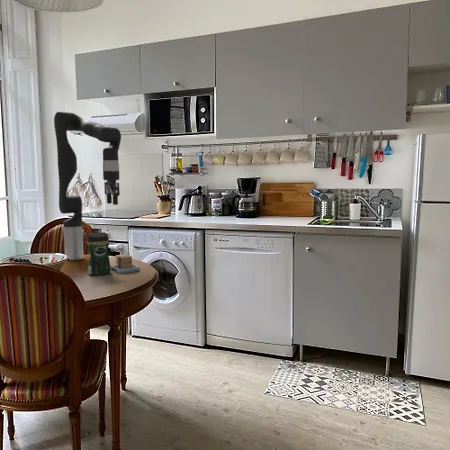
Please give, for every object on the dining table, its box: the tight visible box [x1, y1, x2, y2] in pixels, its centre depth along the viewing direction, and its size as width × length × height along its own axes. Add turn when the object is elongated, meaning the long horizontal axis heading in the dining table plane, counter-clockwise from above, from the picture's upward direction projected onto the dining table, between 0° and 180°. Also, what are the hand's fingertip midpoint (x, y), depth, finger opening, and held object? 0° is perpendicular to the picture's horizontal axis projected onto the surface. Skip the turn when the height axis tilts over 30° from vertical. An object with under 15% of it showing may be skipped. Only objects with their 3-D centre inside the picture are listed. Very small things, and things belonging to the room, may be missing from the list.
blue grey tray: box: [110, 263, 141, 275], centre depth 199 cm, size 10×10×2 cm
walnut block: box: [117, 254, 133, 269], centre depth 198 cm, size 5×5×6 cm
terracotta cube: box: [115, 254, 124, 265], centre depth 214 cm, size 4×4×4 cm
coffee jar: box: [86, 231, 112, 276], centre depth 191 cm, size 10×8×19 cm
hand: (112, 204), depth 207 cm, fingers open, 8 cm apart
